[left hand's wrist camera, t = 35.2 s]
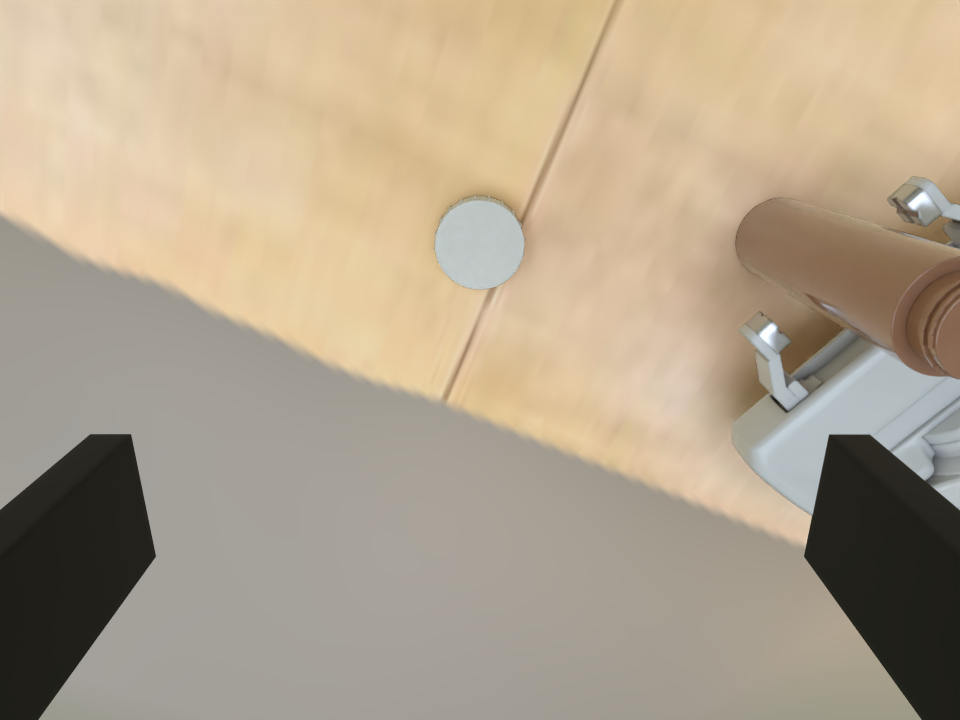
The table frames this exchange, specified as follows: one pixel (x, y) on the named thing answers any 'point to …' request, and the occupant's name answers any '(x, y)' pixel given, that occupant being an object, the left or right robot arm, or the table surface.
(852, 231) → the jar
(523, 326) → the table surface
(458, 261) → the lid
